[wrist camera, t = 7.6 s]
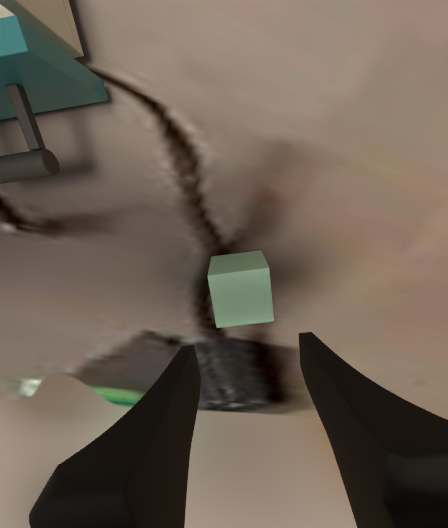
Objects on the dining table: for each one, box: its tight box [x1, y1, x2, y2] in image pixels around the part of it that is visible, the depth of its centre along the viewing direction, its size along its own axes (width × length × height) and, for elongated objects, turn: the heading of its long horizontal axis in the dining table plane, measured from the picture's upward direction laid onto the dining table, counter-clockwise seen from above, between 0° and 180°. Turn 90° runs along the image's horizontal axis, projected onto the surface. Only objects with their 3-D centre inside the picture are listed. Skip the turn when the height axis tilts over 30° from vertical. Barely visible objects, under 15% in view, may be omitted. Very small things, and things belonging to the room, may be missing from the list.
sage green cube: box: [207, 250, 274, 328], centre depth 20 cm, size 4×4×4 cm
